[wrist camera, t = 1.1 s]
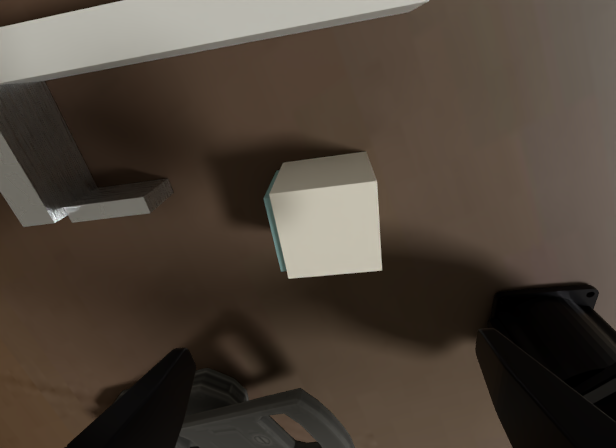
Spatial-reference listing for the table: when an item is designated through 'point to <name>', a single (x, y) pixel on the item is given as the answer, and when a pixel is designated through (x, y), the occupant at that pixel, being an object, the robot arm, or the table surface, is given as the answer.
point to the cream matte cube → (325, 216)
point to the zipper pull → (253, 417)
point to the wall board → (165, 31)
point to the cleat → (57, 166)
